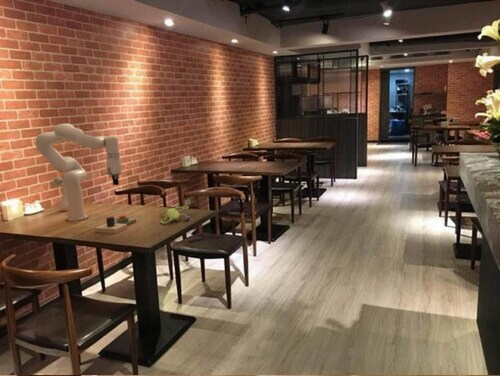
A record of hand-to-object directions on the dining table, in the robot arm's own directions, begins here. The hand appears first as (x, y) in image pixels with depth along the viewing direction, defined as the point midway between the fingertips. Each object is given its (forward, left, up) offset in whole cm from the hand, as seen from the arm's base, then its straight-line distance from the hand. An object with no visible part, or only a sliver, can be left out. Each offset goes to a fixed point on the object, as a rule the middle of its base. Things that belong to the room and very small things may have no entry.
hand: (116, 184), depth 268 cm
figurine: (+36, +8, -22) cm, 43 cm away
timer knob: (+12, -24, -20) cm, 33 cm away
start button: (+10, -10, -19) cm, 24 cm away
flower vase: (-54, +12, -22) cm, 60 cm away
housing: (+10, -10, -22) cm, 26 cm away
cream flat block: (+12, -24, -22) cm, 35 cm away
